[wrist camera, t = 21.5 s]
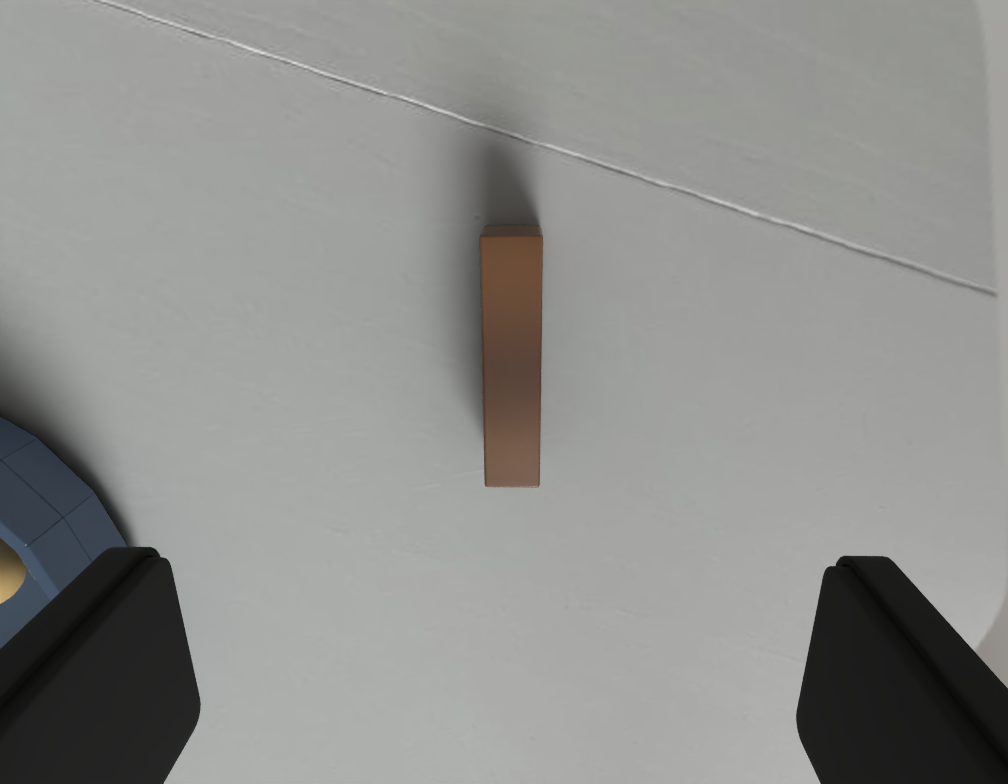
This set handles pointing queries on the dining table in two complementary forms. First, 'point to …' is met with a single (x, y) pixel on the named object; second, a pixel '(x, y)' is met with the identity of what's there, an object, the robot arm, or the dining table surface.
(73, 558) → the round tray
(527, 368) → the brown wooden block
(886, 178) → the dining table surface
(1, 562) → the bead
